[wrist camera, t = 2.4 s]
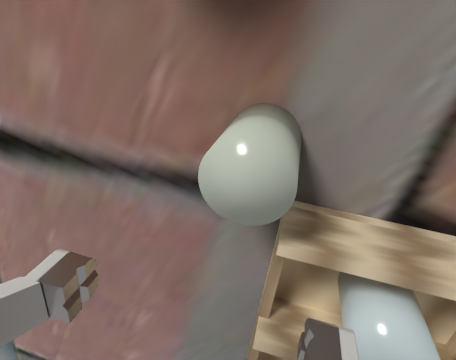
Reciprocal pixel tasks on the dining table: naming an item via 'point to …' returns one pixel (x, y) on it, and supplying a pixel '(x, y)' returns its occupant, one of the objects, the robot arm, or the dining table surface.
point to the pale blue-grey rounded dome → (384, 320)
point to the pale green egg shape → (253, 166)
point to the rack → (352, 264)
